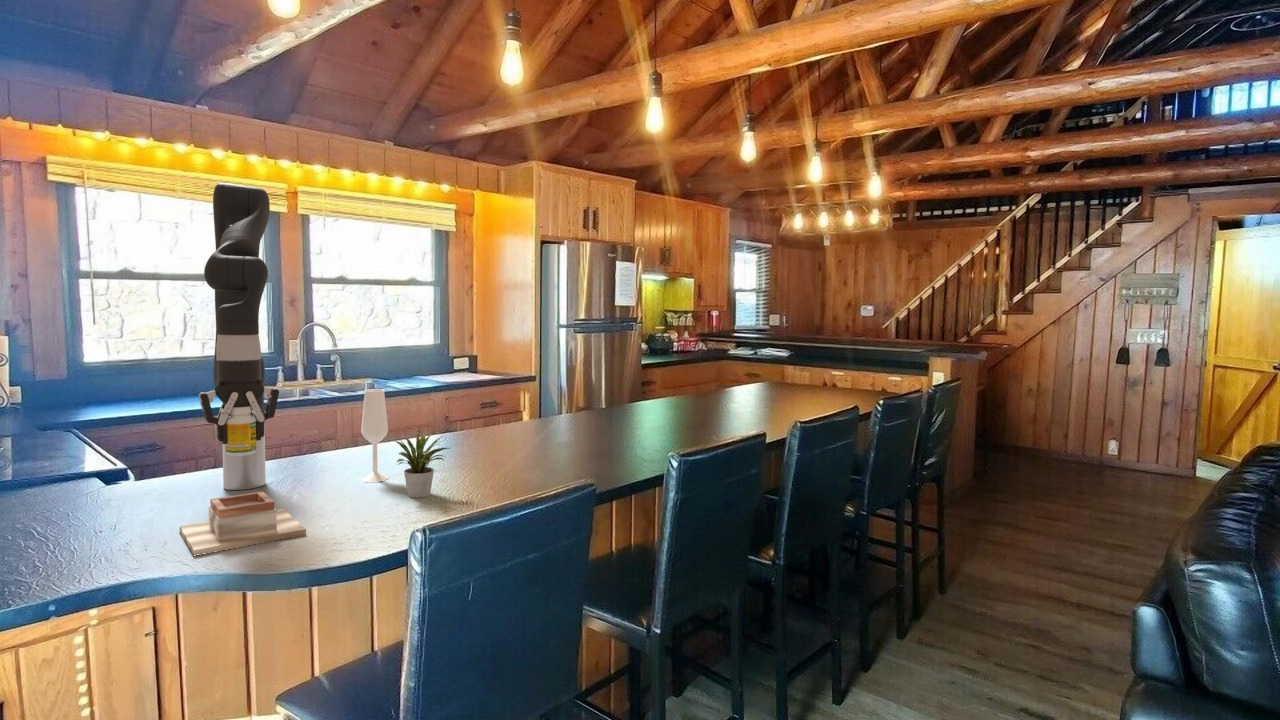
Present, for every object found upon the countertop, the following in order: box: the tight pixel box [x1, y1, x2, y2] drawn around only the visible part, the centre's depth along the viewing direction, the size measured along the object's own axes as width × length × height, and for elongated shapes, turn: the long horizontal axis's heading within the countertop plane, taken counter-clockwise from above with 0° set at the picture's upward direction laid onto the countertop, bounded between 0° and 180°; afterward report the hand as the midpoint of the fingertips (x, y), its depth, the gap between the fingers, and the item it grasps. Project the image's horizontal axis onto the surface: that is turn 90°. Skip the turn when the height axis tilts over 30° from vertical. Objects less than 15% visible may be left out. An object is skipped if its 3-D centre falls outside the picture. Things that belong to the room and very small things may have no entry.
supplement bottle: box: [225, 406, 257, 456], centre depth 132 cm, size 5×5×10 cm
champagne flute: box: [360, 388, 389, 483], centre depth 176 cm, size 7×7×24 cm
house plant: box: [393, 429, 451, 499], centre depth 161 cm, size 14×14×16 cm
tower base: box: [179, 490, 307, 555], centre depth 133 cm, size 17×19×7 cm
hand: (240, 441), depth 132 cm, fingers closed on supplement bottle, 5 cm apart
